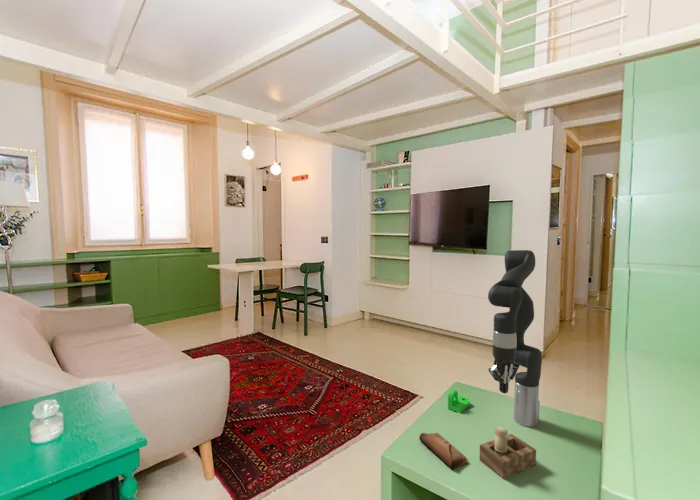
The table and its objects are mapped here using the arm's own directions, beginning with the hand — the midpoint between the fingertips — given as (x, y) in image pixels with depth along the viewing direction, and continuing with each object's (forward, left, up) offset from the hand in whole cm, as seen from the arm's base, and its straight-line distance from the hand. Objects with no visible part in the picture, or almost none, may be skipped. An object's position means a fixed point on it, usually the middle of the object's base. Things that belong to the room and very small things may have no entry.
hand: (503, 392), depth 115 cm
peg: (+1, +1, -25) cm, 25 cm away
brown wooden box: (-2, +1, -26) cm, 26 cm away
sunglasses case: (+13, -13, -27) cm, 33 cm away
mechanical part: (-15, -36, -27) cm, 47 cm away
